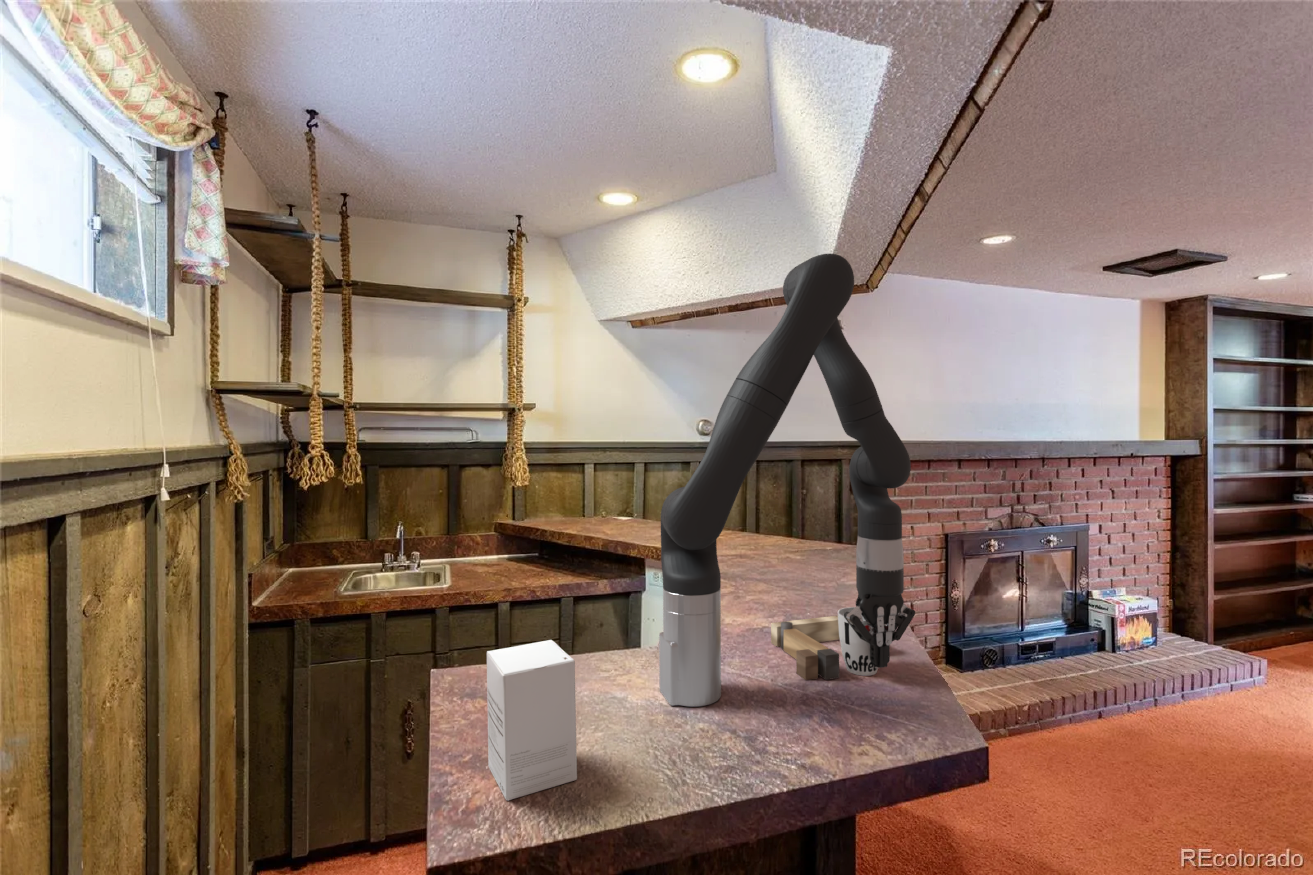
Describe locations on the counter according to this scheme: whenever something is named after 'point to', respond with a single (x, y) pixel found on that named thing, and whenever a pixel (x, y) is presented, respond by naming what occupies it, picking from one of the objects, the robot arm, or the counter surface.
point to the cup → (854, 647)
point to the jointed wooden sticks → (814, 629)
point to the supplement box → (531, 718)
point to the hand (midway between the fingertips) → (879, 665)
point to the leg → (800, 641)
